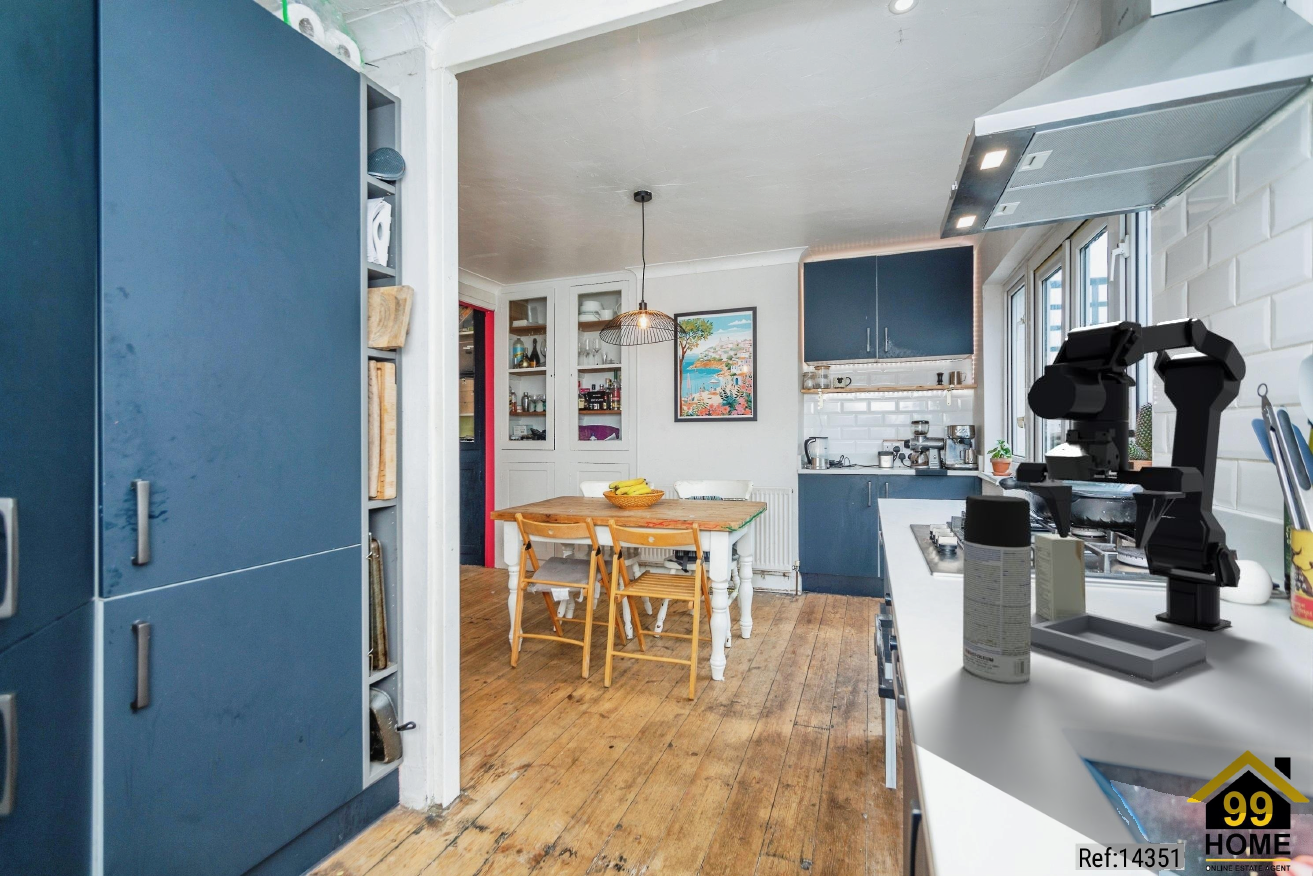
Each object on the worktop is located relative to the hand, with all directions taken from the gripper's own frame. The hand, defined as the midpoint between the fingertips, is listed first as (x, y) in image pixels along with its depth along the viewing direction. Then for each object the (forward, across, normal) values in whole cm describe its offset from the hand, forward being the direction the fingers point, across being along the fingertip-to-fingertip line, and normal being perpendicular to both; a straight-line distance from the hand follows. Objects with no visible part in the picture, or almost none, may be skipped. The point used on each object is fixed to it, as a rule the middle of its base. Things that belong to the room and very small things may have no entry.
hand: (1099, 542), depth 74 cm
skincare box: (+13, -9, +7) cm, 18 cm away
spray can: (+14, 0, -20) cm, 25 cm away
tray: (+13, +2, -1) cm, 13 cm away
